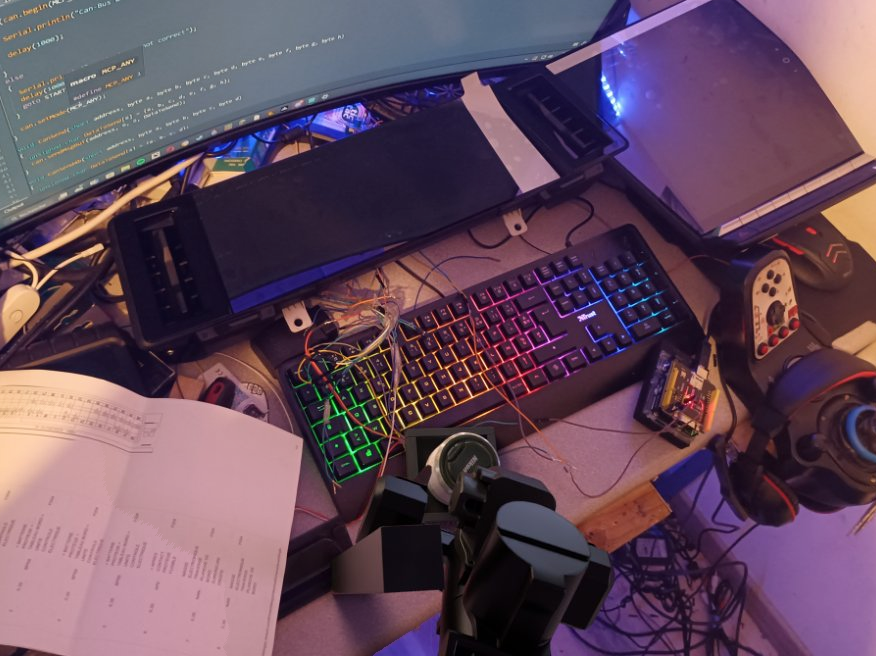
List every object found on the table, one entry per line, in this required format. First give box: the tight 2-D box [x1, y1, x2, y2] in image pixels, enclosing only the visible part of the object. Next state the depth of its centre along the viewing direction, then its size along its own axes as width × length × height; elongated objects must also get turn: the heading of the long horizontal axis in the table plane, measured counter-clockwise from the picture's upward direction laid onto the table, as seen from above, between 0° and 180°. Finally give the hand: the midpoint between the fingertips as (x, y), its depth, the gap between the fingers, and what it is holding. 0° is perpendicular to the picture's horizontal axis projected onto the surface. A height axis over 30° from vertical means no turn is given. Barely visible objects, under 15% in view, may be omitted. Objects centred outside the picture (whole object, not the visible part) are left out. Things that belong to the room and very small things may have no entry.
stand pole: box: [331, 523, 445, 595], centre depth 52 cm, size 3×3×38 cm
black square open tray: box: [404, 426, 498, 524], centre depth 73 cm, size 9×9×2 cm
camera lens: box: [426, 432, 501, 505], centre depth 70 cm, size 6×6×8 cm
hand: (482, 488), depth 62 cm, fingers open, 9 cm apart
